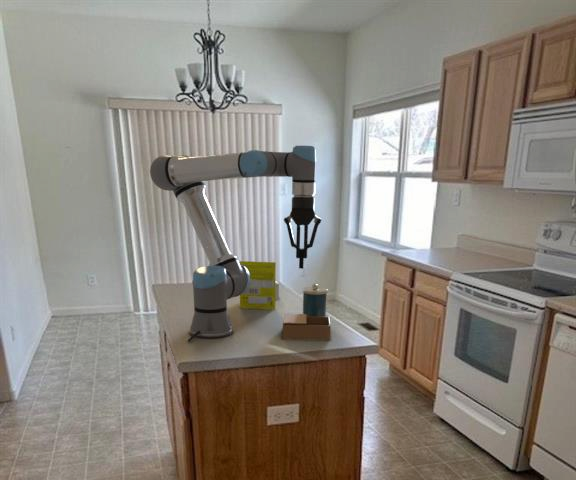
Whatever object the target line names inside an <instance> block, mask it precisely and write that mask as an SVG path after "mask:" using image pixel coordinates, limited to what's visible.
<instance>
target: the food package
mask: <svg viewBox="0 0 576 480" xmlns="http://www.w3.org/2000/svg"><path fill="white" fill-rule="evenodd" d="M238 262H239V264H242V265H243V266H245V267H246V268H247V270H248V271H249V274H250V284H249V287H248V289H247V290H246V291H245V292H244V293H242V294H241V295H239V308H240V309H257V310H261V309H262V310H276V300H275V281H276V269H277V268H276V267H277V266H276V264H277V263H276V262H275V261H274V262H273V261H248V260H247V261H246V260H245V261H244V260H238Z"/></svg>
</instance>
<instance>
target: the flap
mask: <svg viewBox="0 0 576 480" xmlns="http://www.w3.org/2000/svg"><path fill="white" fill-rule="evenodd" d="M282 320H283V321H282V325H283V324H307V322H306V314H303V313H284V315H283V319H282Z"/></svg>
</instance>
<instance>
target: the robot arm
mask: <svg viewBox="0 0 576 480" xmlns="http://www.w3.org/2000/svg"><path fill="white" fill-rule="evenodd" d="M316 151H317V149H316V147H315V146H313V145H294V146H293V147H292V151H288V152H287V151H282V152H281V151H267V150H265V151H264V150H258V149H251V150H247V151H243V152H233V153H223V154H213V155H205V156H204V155H203V156H194V157H193V156H189V155H169V154H163V155H159V156H158V157H155V159H154V160H153V161H152V162H151V165H150V169H149V175H150V179H151V181H152V182H153V184H154V185H155V186H156V187H157V188H159V189H160V190H163V191H167V192H168V191H169V192H170V191H171V192H173V194H174V197H175V199H176V201H179V202H181V203H182V204H183V207H184V209H185V211H186V213H187V216H188V217H189V220H190V223H191V225H192V227H193V230H194V231H195V233H196V237H197V239H198V240H199V243H200V245H201V247H202V249H203V251H204V254H205V257H206V258H207V261H208V265H206V266H204V265H203V266H201V267H198V268H196V269H195V270H193V273H192V281H191V282H192V289H193V290H192V291H193V307H194V312H193V317H192V322H191V324H190V326H189V327H190V328H189V330H190V331H189V332H190V334H191V336H190V337H189V338H188V339H187V342H191V341H192V340H193V339H195V338H196V337H197V338H202V339H217V338H218V339H219V338H224V337H228V336H231V334H233V325H232V324H231V320H230V317H229V313H228V308H227V304H228V301H227V300H231V299H232V298H237V297H240V295H241V294H242V293H244V292H245V291H246V290H247V289H248V287H249V284H250V274H249V271H248V270H247V268H246V267H245V266H243V265H242V264H239V260H238V258H237V256H236V255H233V254H232V253H231V251H230V250H229V247H228V245H227V242H226V240H225V238H224V236H223V234H222V231H221V229H220V226H219V224H218V221H217V220H216V218H215V214H214V213H213V211H212V208H211V206H210V203H209V202H208V199H207V197H206V195H205V191H206V188H207V186H206V184H205V182H211V181H222V180H232V179H234V180H235V179H244V178H245V179H246V178H249V179H250V178H259V177H260V178H262V177H263V178H264V177H265V178H267V177H269V178H270V177H271V178H273V177H276V178H277V177H278V178H279V177H285V178H291V181H292V182H291V195H292V197H291V211H290V212H289V215H288V216H286V217H284V218H283V222H284V223H285V225H286V228H287V229H286V230H287V233H288V238H289V243H290V247H292V248H294V249H295V258H296V259H298V262H299V263H298V269H304V262H305V261H304V260H305V259H307V258H308V249H310V248H313V246H314V243H315V240H316V239H315V238H316V235H317V231H318V228H319V225H320V224H321V223H322V218H320V217H318V216H317V215H316V212H315V198H314V196H315V194H316V168H317V167H316V166H317V164H316V163H317V156H316V155H317V152H316ZM312 221H313V223H314V224H313V228H312V232H311V236H310V239H308V237H309V235H308V234H309V233H308V232H309V225H310V224H311V223H312ZM291 222H293V223H294V224H295V225H296V239H294V234H293V230H292V225H291ZM301 226H303V227H304V228H303V247H301ZM295 240H296V242H295ZM308 240H309V241H308ZM308 242H309V243H308Z"/></svg>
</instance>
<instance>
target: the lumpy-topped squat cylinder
mask: <svg viewBox="0 0 576 480" xmlns="http://www.w3.org/2000/svg"><path fill="white" fill-rule="evenodd" d="M277 300H280V283H279V282H278V281H277V280H275V301H277Z"/></svg>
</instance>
